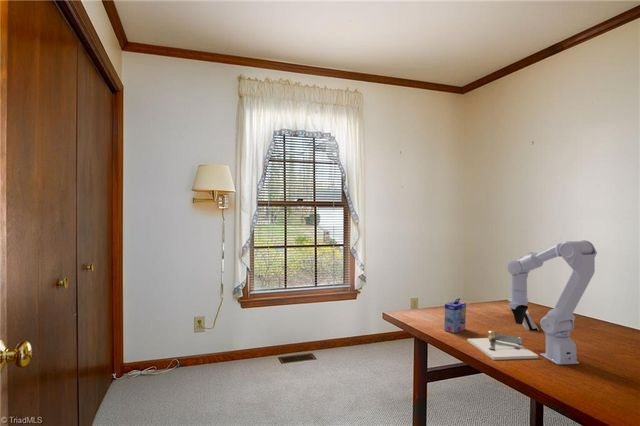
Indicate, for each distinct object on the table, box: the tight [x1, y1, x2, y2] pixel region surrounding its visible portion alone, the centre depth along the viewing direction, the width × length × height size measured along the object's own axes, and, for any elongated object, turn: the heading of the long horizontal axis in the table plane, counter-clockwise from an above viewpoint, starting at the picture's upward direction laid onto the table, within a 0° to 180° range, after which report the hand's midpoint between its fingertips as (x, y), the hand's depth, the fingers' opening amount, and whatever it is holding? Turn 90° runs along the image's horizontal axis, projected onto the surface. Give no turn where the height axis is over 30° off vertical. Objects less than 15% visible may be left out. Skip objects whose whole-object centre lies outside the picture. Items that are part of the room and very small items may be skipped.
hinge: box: [522, 310, 540, 332], centre depth 174 cm, size 17×5×10 cm, turn 162°
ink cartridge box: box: [444, 297, 467, 334], centre depth 168 cm, size 10×6×14 cm, turn 130°
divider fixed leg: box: [490, 341, 494, 350], centre depth 144 cm, size 10×1×1 cm, turn 154°
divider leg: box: [487, 329, 523, 346], centre depth 147 cm, size 12×3×3 cm, turn 52°
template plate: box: [467, 337, 539, 361], centre depth 143 cm, size 20×17×2 cm
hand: (519, 323), depth 149 cm, fingers closed
